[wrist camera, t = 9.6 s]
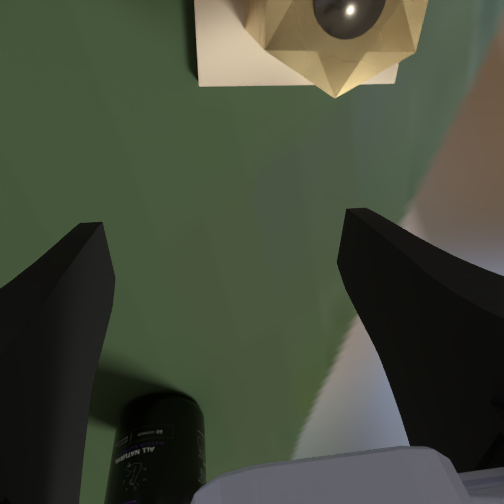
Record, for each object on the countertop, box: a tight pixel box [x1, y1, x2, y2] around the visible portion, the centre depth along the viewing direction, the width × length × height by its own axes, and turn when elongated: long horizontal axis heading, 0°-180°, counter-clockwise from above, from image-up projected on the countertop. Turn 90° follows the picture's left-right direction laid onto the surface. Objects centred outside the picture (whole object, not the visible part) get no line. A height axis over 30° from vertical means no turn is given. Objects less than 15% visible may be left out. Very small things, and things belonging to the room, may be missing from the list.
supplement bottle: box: [104, 394, 206, 504], centre depth 28 cm, size 7×7×12 cm
